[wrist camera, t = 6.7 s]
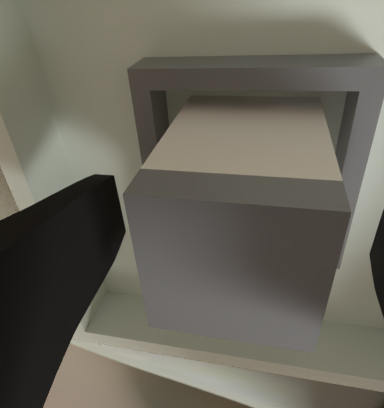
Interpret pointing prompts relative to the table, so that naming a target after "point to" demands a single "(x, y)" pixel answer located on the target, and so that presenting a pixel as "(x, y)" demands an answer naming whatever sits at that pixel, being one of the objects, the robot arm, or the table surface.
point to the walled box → (166, 113)
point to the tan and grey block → (240, 221)
